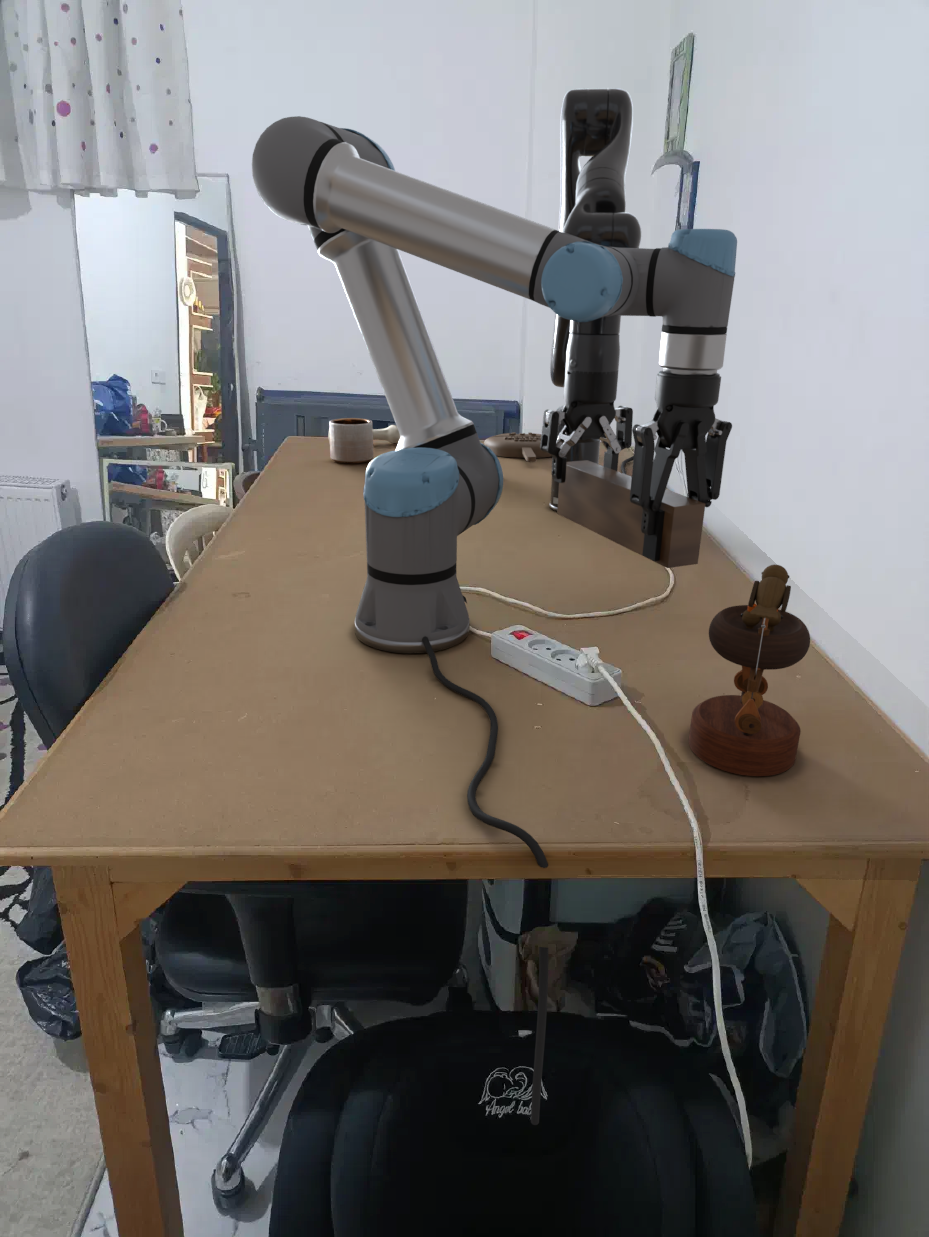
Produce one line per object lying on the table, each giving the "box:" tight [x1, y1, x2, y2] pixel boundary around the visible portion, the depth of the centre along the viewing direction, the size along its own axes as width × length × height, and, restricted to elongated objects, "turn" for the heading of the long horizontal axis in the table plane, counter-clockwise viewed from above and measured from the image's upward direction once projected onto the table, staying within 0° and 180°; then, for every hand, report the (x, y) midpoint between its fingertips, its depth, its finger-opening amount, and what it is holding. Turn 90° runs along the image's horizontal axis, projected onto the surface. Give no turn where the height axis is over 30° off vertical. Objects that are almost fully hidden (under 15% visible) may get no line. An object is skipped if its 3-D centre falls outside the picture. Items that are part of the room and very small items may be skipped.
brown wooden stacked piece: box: [688, 564, 811, 777], centre depth 83 cm, size 15×11×20 cm
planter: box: [328, 417, 375, 464], centre depth 212 cm, size 11×11×10 cm
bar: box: [556, 460, 706, 569], centre depth 118 cm, size 28×5×8 cm, turn 24°
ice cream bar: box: [483, 431, 552, 463], centre depth 221 cm, size 21×28×4 cm
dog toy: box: [327, 424, 400, 444], centre depth 234 cm, size 20×6×5 cm, turn 99°
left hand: (668, 555), depth 110 cm, fingers closed on bar, 5 cm apart
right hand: (584, 479), depth 126 cm, fingers open, 8 cm apart
